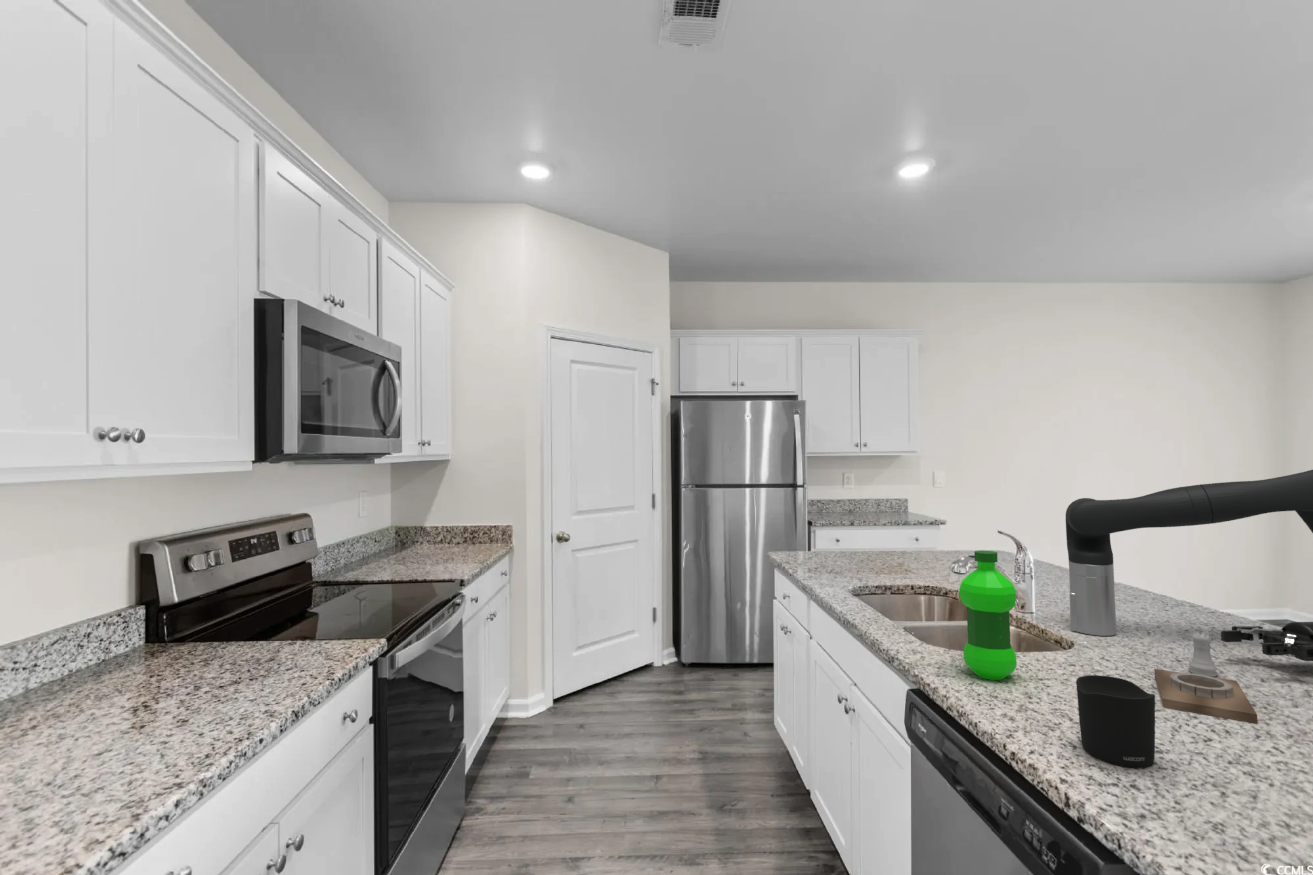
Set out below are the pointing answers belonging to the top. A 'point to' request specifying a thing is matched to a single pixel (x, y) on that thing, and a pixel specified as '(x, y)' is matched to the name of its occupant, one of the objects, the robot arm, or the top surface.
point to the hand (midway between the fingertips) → (1242, 642)
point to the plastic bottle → (988, 619)
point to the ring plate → (1204, 695)
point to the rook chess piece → (1202, 656)
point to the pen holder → (1116, 720)
